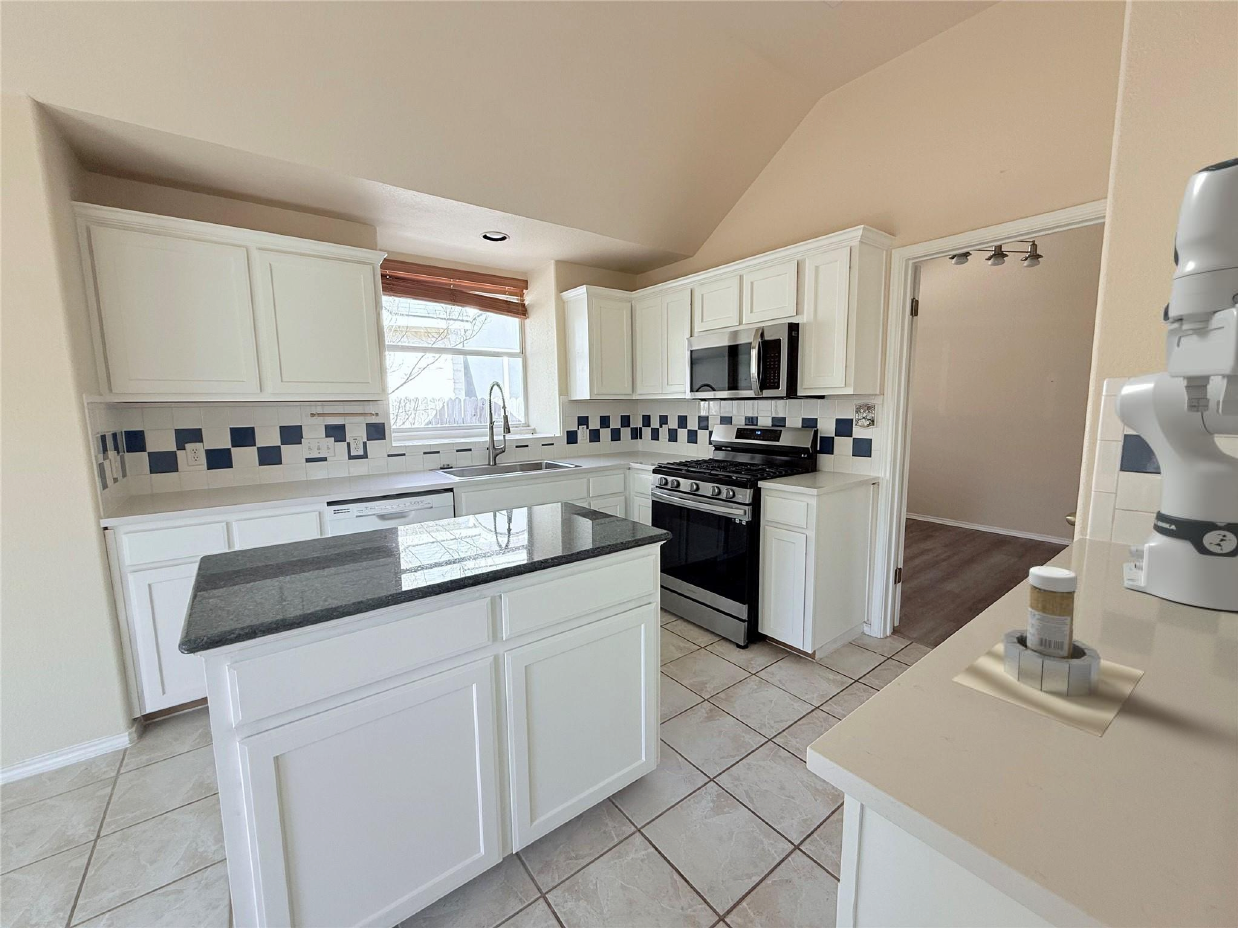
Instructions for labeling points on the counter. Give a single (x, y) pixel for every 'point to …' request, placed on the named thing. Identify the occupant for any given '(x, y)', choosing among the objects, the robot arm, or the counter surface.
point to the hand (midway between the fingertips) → (1211, 413)
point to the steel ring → (1052, 667)
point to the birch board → (1070, 710)
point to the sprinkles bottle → (1051, 611)
